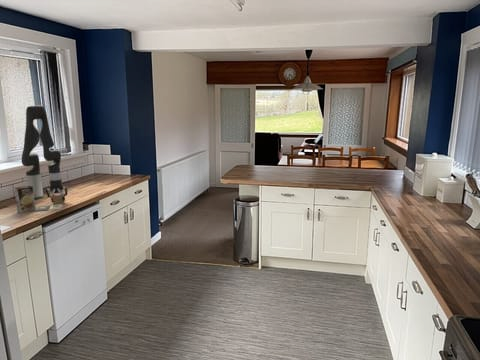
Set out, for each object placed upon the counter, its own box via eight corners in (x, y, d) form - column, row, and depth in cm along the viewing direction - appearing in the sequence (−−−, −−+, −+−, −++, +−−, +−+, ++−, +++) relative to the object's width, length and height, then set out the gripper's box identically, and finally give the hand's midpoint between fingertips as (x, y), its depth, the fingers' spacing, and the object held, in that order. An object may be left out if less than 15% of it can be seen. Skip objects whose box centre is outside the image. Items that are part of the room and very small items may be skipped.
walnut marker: (54, 202, 254) (53, 194, 252) (63, 201, 256) (62, 193, 254) (53, 204, 248) (52, 196, 247) (62, 203, 250) (61, 195, 249)
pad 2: (51, 206, 244) (51, 205, 244) (62, 205, 247) (62, 204, 246) (49, 210, 235) (48, 208, 235) (60, 209, 237) (60, 207, 237)
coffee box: (21, 213, 230) (17, 189, 226) (17, 211, 234) (13, 187, 230) (36, 209, 237) (32, 186, 233) (32, 208, 241) (28, 185, 237)
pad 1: (38, 207, 242) (38, 206, 242) (49, 206, 244) (49, 205, 244) (35, 211, 233) (35, 210, 232) (47, 210, 235) (47, 209, 235)
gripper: (67, 177, 254) (70, 199, 257) (44, 178, 249) (48, 201, 253) (66, 179, 247) (68, 202, 251) (42, 180, 242) (46, 204, 246)
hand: (58, 202), depth 252 cm, fingers closed on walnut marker, 6 cm apart
